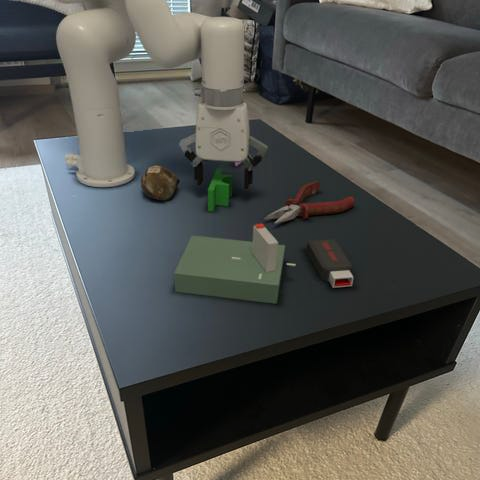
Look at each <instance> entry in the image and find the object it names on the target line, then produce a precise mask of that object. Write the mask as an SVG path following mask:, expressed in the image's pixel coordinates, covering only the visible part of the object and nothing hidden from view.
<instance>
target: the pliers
mask: <svg viewBox="0 0 480 480" xmlns="http://www.w3.org/2000/svg"><path fill="white" fill-rule="evenodd" d="M319 190H320V182H319V181H312V182H310V183H307V184H305V185H302V186H301V187H300V188H299V190H298V192H297V193H296V195H295V197H294V198H288V199H287V200H286V201H285V204H284V206H282V207H280V208H278V209H277V210H275V211H274V212H272V213H270V214H268V215H266V216H265V217H263V220H264V221H265V220H273V219H277V220H276V221H274V223H273V225H278V224H280V223H285V222H288V221H292V220H294V219H295V218H296V217H298V218H302V219H303V220H308V219H309V216H323V215H334V214H335V215H336V214H340V213H344V212H346V211H348V210H350V209H352V208H353V207H354V206H355V202H356V200H355V198H354V196H351V195H349V196H347V197H345V198H343V199H341V200H340V199H339V200H335V201H324V202H323V201H322V202H308V203H307V202H303V201H304V200H305V199H306V198H307V197H309V196H312V195H315V194H316V193H318V192H319Z"/></svg>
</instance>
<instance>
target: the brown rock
mask: <svg viewBox="0 0 480 480" xmlns="http://www.w3.org/2000/svg"><path fill="white" fill-rule="evenodd" d="M180 181H181V180H180V178H179V177H178V176H177V175H176V174H175V173H174V172H173V171H171V170H170V169H169V168H166V167H164V166H161V165H153V166H150V167H148V168H147V169H146V170H145V172H144V174H142V176H141V177H140V186H141V189H142V192H144V194H145V195H146V196H148V197H149V198H151V199H153V200H158V201H166V200H169V199H170V198H171V197H172V196H173V195H174V193H175V191H176V189H177V187H178V186H179V184H180Z"/></svg>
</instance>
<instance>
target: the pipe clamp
mask: <svg viewBox="0 0 480 480" xmlns="http://www.w3.org/2000/svg"><path fill="white" fill-rule="evenodd" d="M232 196H233V175H232V174H225V173H224V174H223V168H221V167H217V168H216V169H215V171H214V174H213V176H212V179H211V182H210V184H209V186H208V189H207V211H208V212H214V211H215V208H216V206H223V207H229V206H230V197H232Z"/></svg>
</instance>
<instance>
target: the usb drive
mask: <svg viewBox="0 0 480 480" xmlns="http://www.w3.org/2000/svg"><path fill="white" fill-rule="evenodd" d="M305 252H306V255H307V256H308V258H309V260H310V262H311V264H312V265H313V267H314V269H315V272H316V273H317V275H318V276H319V278H320V279H321V280H322V281H324V282H325V283H329V284H330V286H331V288H332V289H333V288H334V289H335V288H346V287H353V284H354V279H355V277H354V276H353V273H352V270H353V264H352V263H351V261H350V260H349V258H348V256H347V255H346V254H345V252H344V251H343V249H342V248H341V245H340V244H339V243H338V241H337V240H335V239H333V238H330V239H329V238H327V239H313V240H309V241H308V242H307V243H306V248H305Z"/></svg>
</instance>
